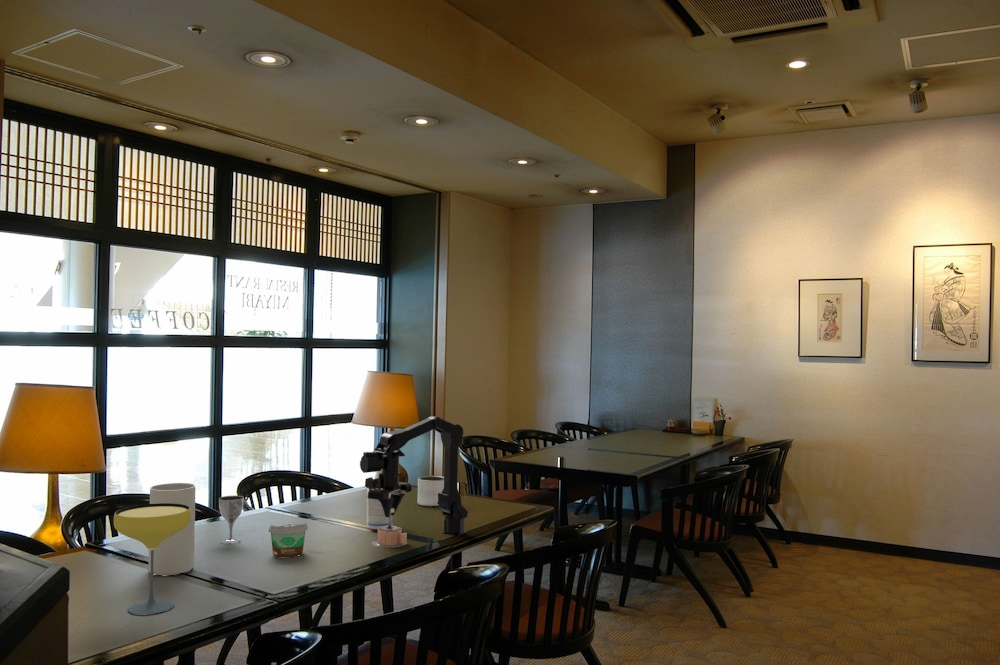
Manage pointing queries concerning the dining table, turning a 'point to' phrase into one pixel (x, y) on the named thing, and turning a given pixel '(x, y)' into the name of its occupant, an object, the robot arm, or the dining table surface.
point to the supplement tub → (376, 514)
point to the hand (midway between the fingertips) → (389, 516)
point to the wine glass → (231, 510)
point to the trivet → (386, 546)
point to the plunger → (390, 519)
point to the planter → (429, 490)
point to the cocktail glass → (152, 537)
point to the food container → (288, 540)
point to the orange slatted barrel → (391, 536)
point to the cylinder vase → (179, 547)
